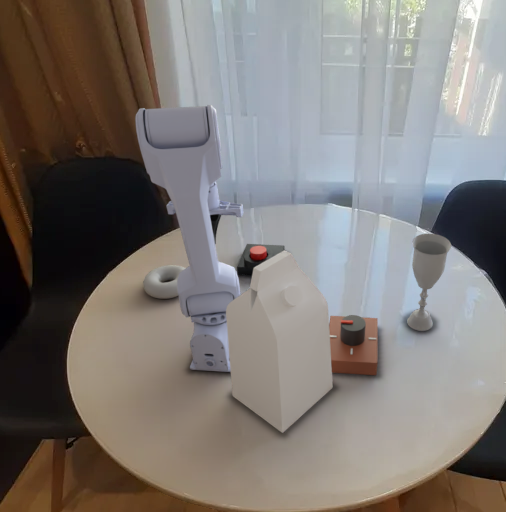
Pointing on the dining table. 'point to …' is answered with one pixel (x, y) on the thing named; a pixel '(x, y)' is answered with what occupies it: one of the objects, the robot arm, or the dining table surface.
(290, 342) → the milk
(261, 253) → the button
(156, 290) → the donut
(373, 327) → the timer panel
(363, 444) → the dining table surface
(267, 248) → the control box
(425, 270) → the chalice
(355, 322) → the timer knob
